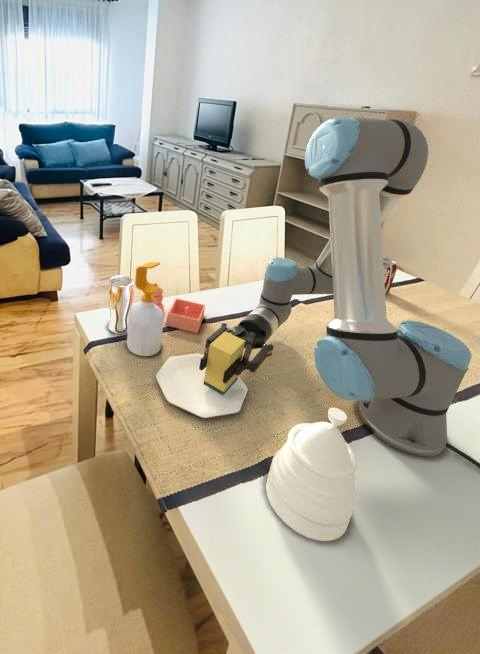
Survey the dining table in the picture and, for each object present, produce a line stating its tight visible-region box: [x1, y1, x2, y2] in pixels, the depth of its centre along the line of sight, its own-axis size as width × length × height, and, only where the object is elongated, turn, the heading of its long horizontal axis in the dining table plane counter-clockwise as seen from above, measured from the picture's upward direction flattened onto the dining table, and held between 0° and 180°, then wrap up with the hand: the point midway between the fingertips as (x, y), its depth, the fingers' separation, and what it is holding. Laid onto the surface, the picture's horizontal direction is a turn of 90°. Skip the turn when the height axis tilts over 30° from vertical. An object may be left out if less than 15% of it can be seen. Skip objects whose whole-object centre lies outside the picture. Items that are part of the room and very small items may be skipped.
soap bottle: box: [126, 261, 165, 357], centre depth 98 cm, size 9×9×25 cm
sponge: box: [204, 332, 245, 395], centre depth 87 cm, size 5×7×11 cm
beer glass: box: [107, 275, 135, 335], centre depth 107 cm, size 7×7×15 cm
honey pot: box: [265, 407, 358, 542], centre depth 62 cm, size 13×13×18 cm
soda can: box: [383, 257, 398, 295], centre depth 137 cm, size 7×7×12 cm
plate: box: [155, 352, 249, 420], centre depth 89 cm, size 20×20×2 cm
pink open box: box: [151, 283, 206, 334], centre depth 114 cm, size 18×10×10 cm, turn 68°
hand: (213, 371), depth 83 cm, fingers closed on sponge, 5 cm apart
